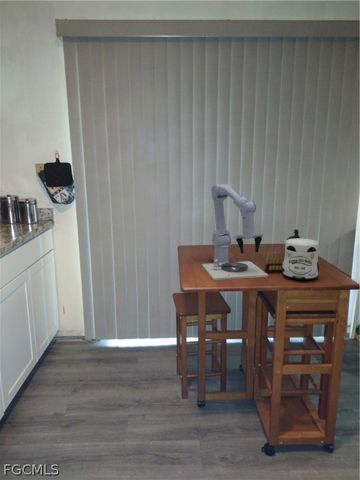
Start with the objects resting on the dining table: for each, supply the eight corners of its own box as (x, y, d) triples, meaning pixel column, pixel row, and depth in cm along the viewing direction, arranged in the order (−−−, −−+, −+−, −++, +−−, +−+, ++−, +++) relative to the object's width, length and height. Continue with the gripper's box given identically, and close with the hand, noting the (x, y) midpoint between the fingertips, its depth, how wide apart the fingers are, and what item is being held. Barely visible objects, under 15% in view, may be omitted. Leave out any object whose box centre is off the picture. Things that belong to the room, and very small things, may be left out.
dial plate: (201, 265, 208) (201, 263, 207) (250, 262, 212) (250, 261, 212) (213, 280, 182) (213, 278, 182) (268, 276, 187) (268, 274, 187)
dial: (242, 264, 206) (243, 254, 205) (251, 271, 193) (252, 261, 191) (210, 265, 203) (210, 256, 202) (217, 273, 190) (217, 263, 188)
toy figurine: (303, 263, 215) (299, 249, 238) (305, 232, 210) (301, 221, 233) (286, 263, 217) (284, 249, 240) (288, 231, 211) (285, 220, 235)
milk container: (294, 284, 176) (296, 246, 172) (275, 273, 192) (276, 239, 188) (325, 280, 180) (328, 244, 177) (304, 270, 197) (306, 237, 193)
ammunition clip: (265, 272, 195) (267, 252, 189) (264, 270, 196) (266, 250, 191) (285, 272, 195) (288, 252, 189) (284, 270, 196) (287, 250, 190)
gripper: (236, 227, 184) (237, 254, 185) (265, 225, 186) (266, 252, 187) (232, 226, 191) (234, 252, 192) (260, 224, 193) (261, 250, 194)
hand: (249, 252), depth 190 cm, fingers open, 7 cm apart
